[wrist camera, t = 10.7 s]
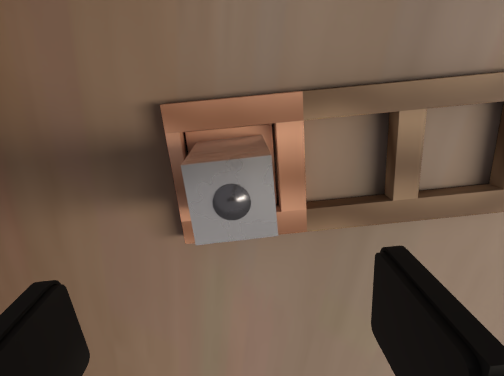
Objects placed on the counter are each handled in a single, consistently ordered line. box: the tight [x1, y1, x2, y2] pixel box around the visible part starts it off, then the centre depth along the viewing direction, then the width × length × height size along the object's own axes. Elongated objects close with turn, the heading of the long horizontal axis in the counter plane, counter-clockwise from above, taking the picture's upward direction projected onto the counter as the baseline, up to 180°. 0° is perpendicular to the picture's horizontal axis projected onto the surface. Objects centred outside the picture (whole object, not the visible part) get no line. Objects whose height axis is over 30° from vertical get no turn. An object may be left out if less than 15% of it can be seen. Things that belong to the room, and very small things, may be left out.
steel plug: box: [181, 135, 278, 245], centre depth 20 cm, size 5×5×7 cm
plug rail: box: [160, 72, 504, 244], centre depth 24 cm, size 11×27×2 cm, turn 95°
